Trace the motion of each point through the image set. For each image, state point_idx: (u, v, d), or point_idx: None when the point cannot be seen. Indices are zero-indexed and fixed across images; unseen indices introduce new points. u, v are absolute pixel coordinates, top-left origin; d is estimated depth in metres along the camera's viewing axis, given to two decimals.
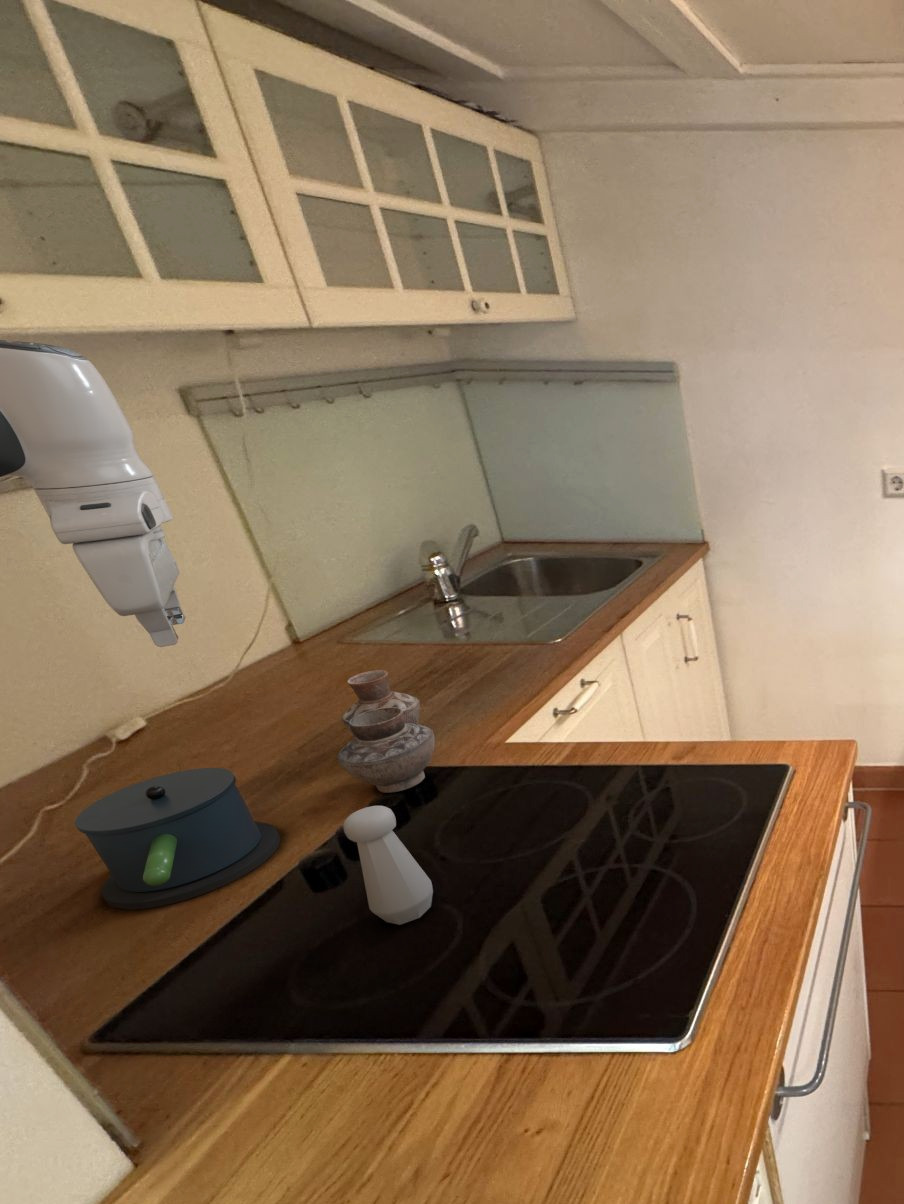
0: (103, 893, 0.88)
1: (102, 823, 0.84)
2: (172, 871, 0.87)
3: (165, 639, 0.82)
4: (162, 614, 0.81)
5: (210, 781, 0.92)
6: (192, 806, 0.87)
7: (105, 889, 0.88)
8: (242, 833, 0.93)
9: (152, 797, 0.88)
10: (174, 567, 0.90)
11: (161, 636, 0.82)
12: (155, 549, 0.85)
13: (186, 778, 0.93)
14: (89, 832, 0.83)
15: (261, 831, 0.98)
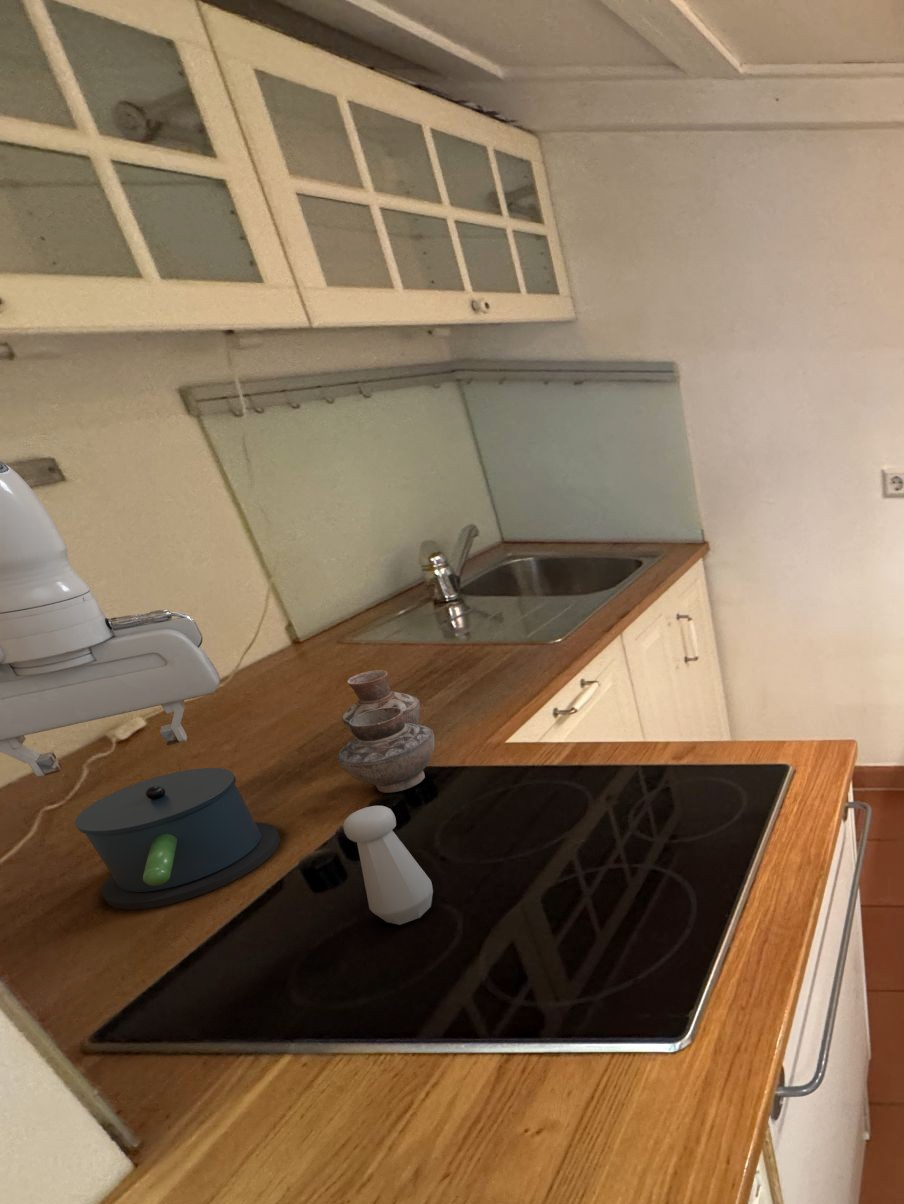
0: (103, 893, 0.88)
1: (102, 823, 0.84)
2: (172, 871, 0.87)
3: None
4: (0, 750, 0.73)
5: (210, 781, 0.92)
6: (192, 806, 0.87)
7: (105, 889, 0.88)
8: (242, 833, 0.93)
9: (152, 797, 0.88)
10: (173, 690, 0.79)
11: None
12: (105, 674, 0.75)
13: (186, 778, 0.93)
14: (89, 832, 0.83)
15: (261, 831, 0.98)
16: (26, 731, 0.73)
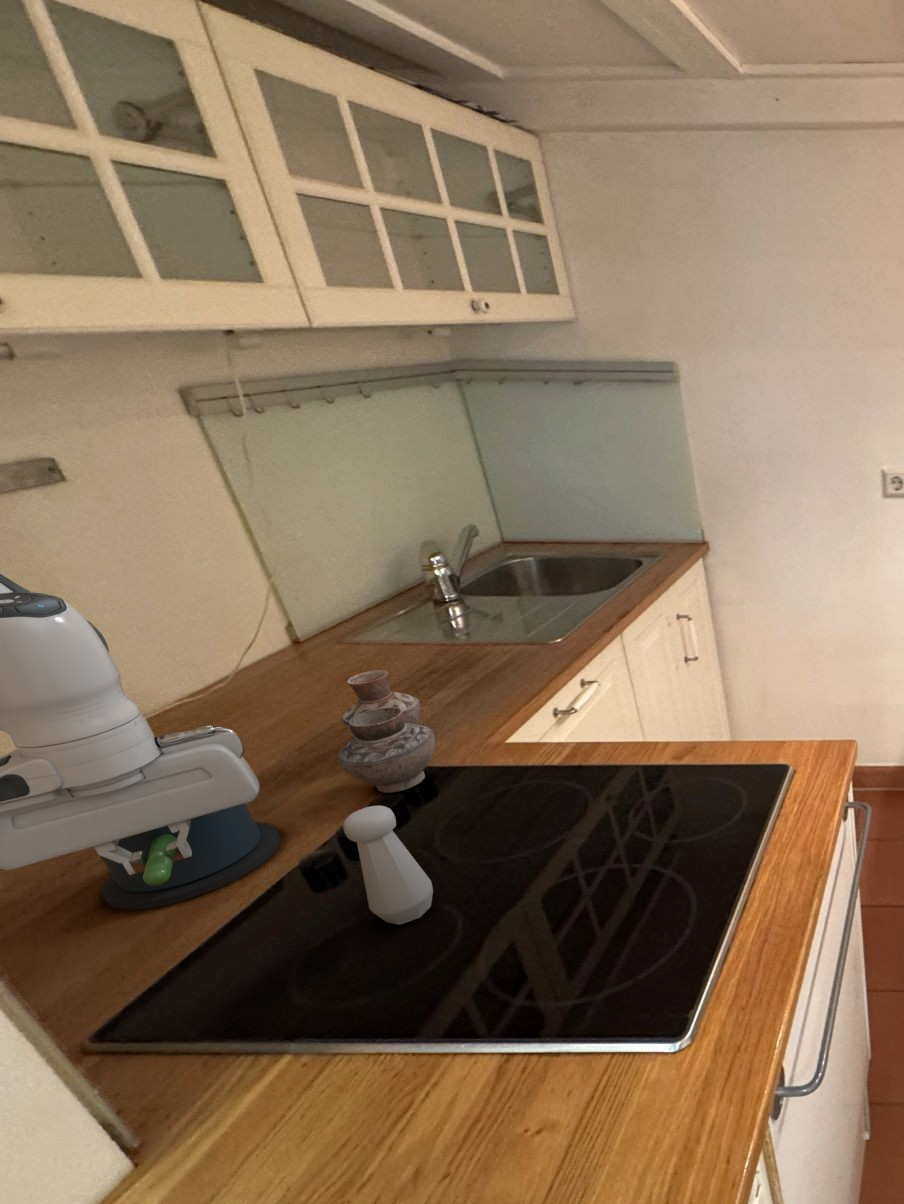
0: (103, 893, 0.88)
1: None
2: (172, 871, 0.87)
3: None
4: None
5: None
6: None
7: (105, 889, 0.88)
8: (242, 833, 0.93)
9: None
10: (216, 801, 0.83)
11: None
12: (154, 790, 0.79)
13: None
14: None
15: (261, 831, 0.98)
16: (80, 847, 0.77)
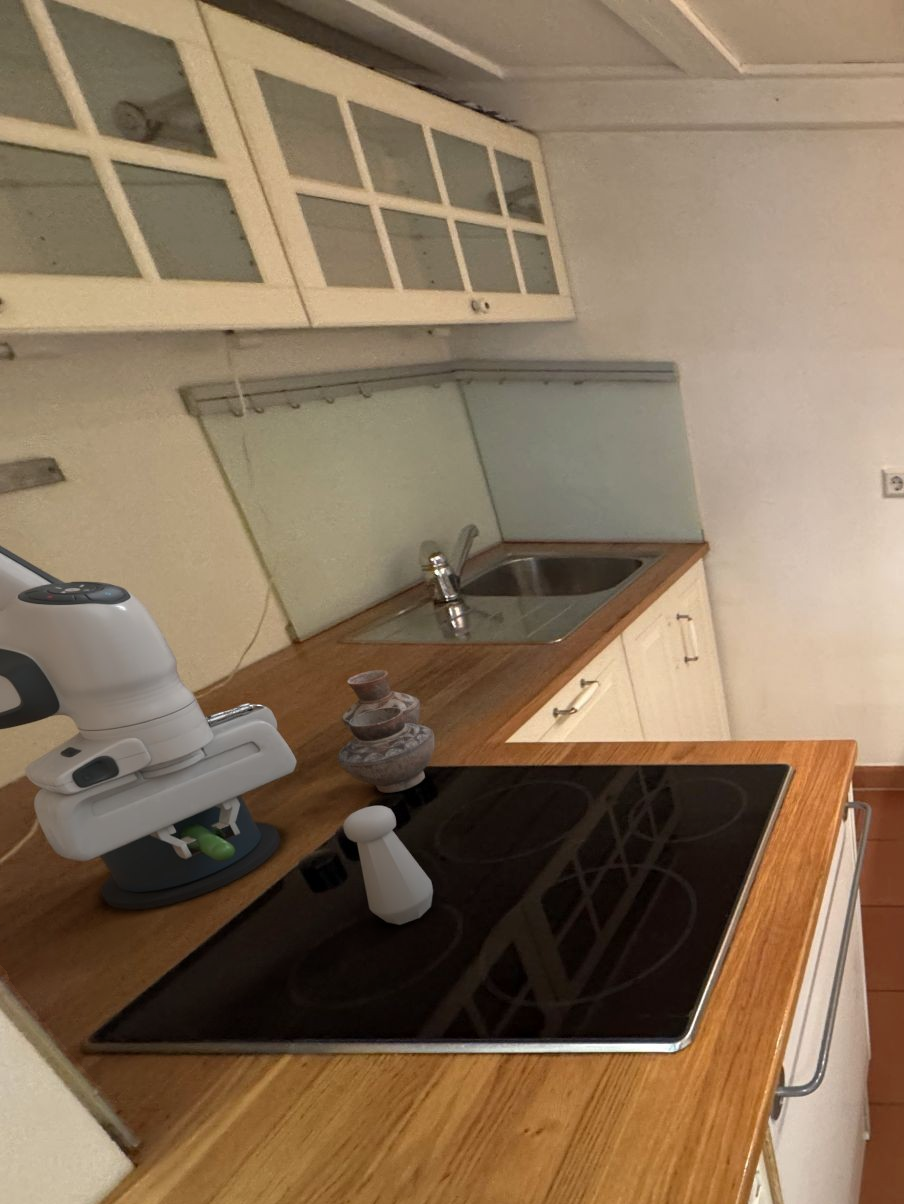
0: (103, 893, 0.88)
1: None
2: (200, 862, 0.89)
3: (180, 852, 0.83)
4: (159, 838, 0.81)
5: None
6: None
7: (105, 889, 0.88)
8: (251, 823, 0.95)
9: None
10: (265, 773, 0.88)
11: (177, 849, 0.83)
12: (212, 767, 0.84)
13: None
14: None
15: (261, 831, 0.98)
16: (151, 830, 0.79)
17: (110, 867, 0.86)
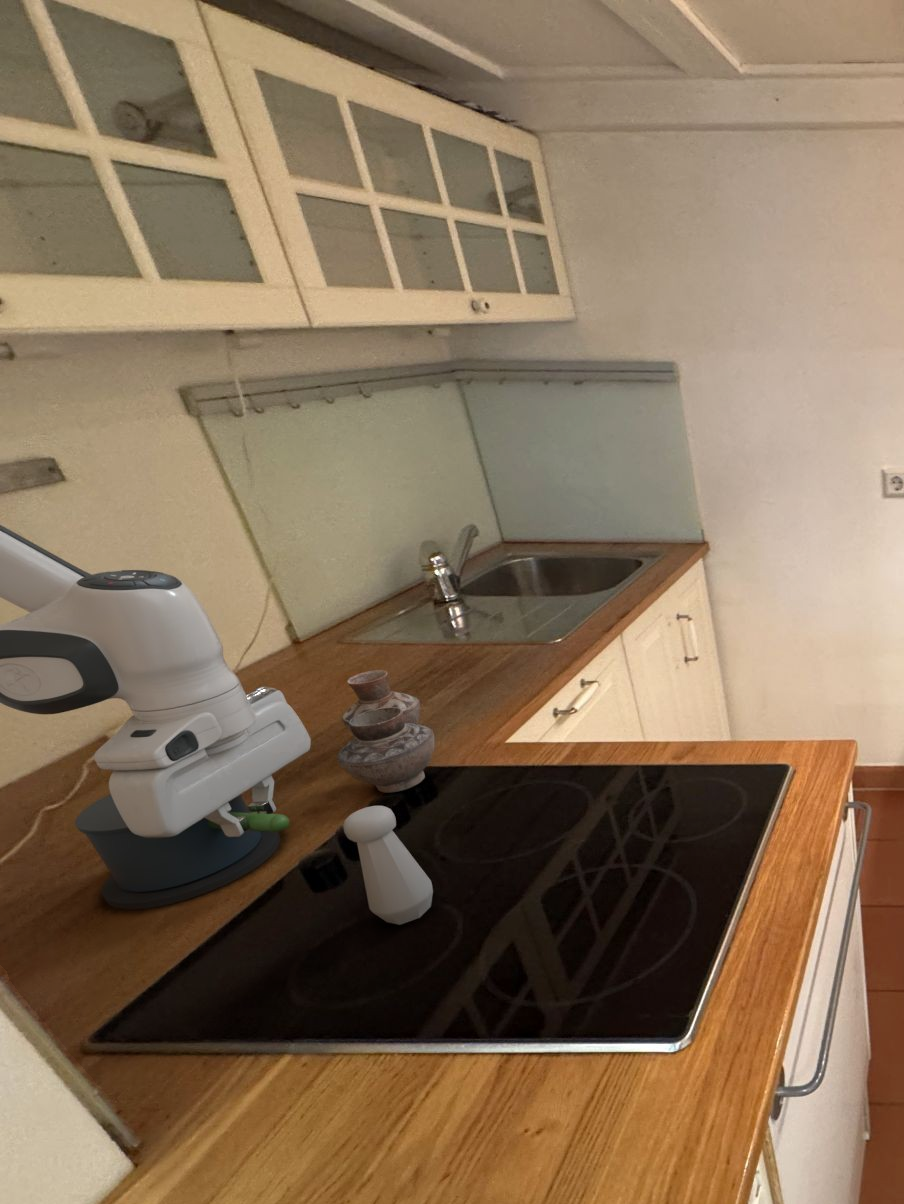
0: (103, 893, 0.88)
1: None
2: (226, 849, 0.91)
3: (231, 831, 0.87)
4: (219, 815, 0.84)
5: None
6: None
7: (105, 889, 0.88)
8: None
9: None
10: (291, 751, 0.93)
11: (228, 828, 0.87)
12: (252, 745, 0.88)
13: None
14: None
15: (261, 831, 0.98)
16: (218, 805, 0.83)
17: (128, 869, 0.86)
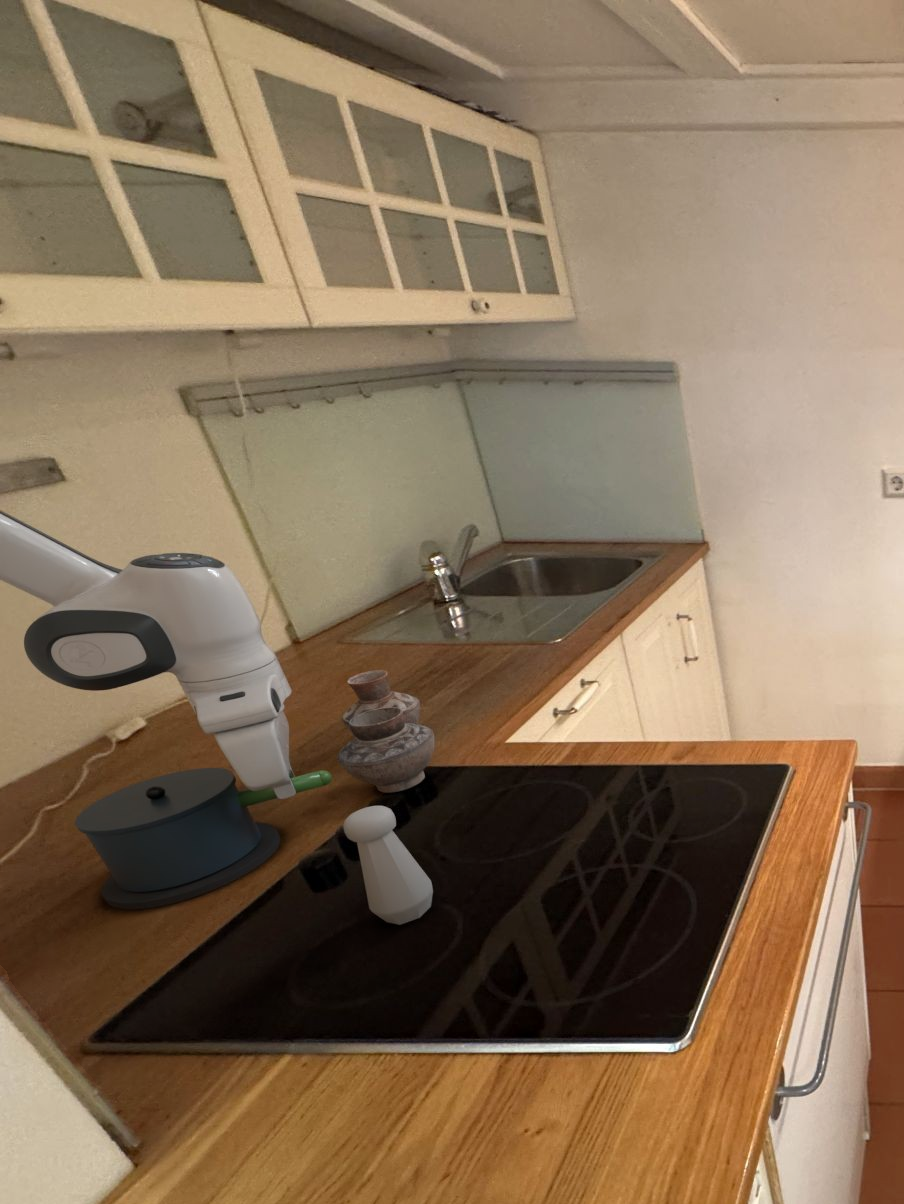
0: (103, 893, 0.88)
1: (190, 802, 0.88)
2: (253, 827, 0.95)
3: (286, 792, 0.94)
4: None
5: (161, 781, 0.92)
6: (225, 770, 0.95)
7: (105, 889, 0.88)
8: None
9: (164, 793, 0.89)
10: (286, 725, 0.99)
11: (282, 790, 0.94)
12: None
13: (120, 799, 0.89)
14: (200, 805, 0.88)
15: (261, 831, 0.98)
16: (288, 762, 0.92)
17: (181, 858, 0.87)
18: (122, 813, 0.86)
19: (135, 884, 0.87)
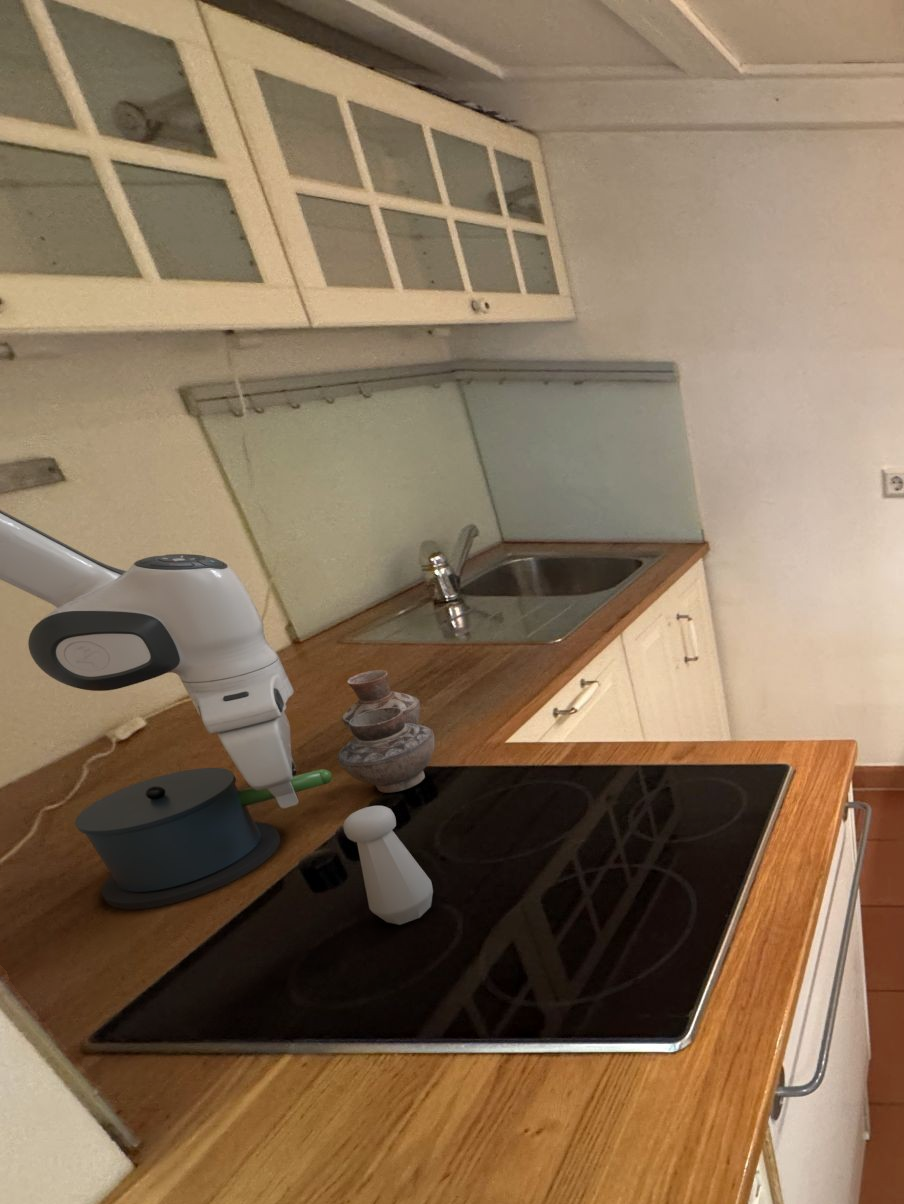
0: (103, 893, 0.88)
1: (191, 802, 0.88)
2: (253, 826, 0.95)
3: (288, 801, 0.93)
4: (288, 781, 0.91)
5: (159, 782, 0.92)
6: (224, 769, 0.95)
7: (105, 889, 0.88)
8: None
9: (164, 793, 0.89)
10: (287, 725, 1.00)
11: (285, 799, 0.93)
12: None
13: (119, 799, 0.89)
14: (202, 805, 0.88)
15: (261, 831, 0.98)
16: (291, 761, 0.93)
17: (183, 857, 0.87)
18: (123, 813, 0.86)
19: (137, 884, 0.87)
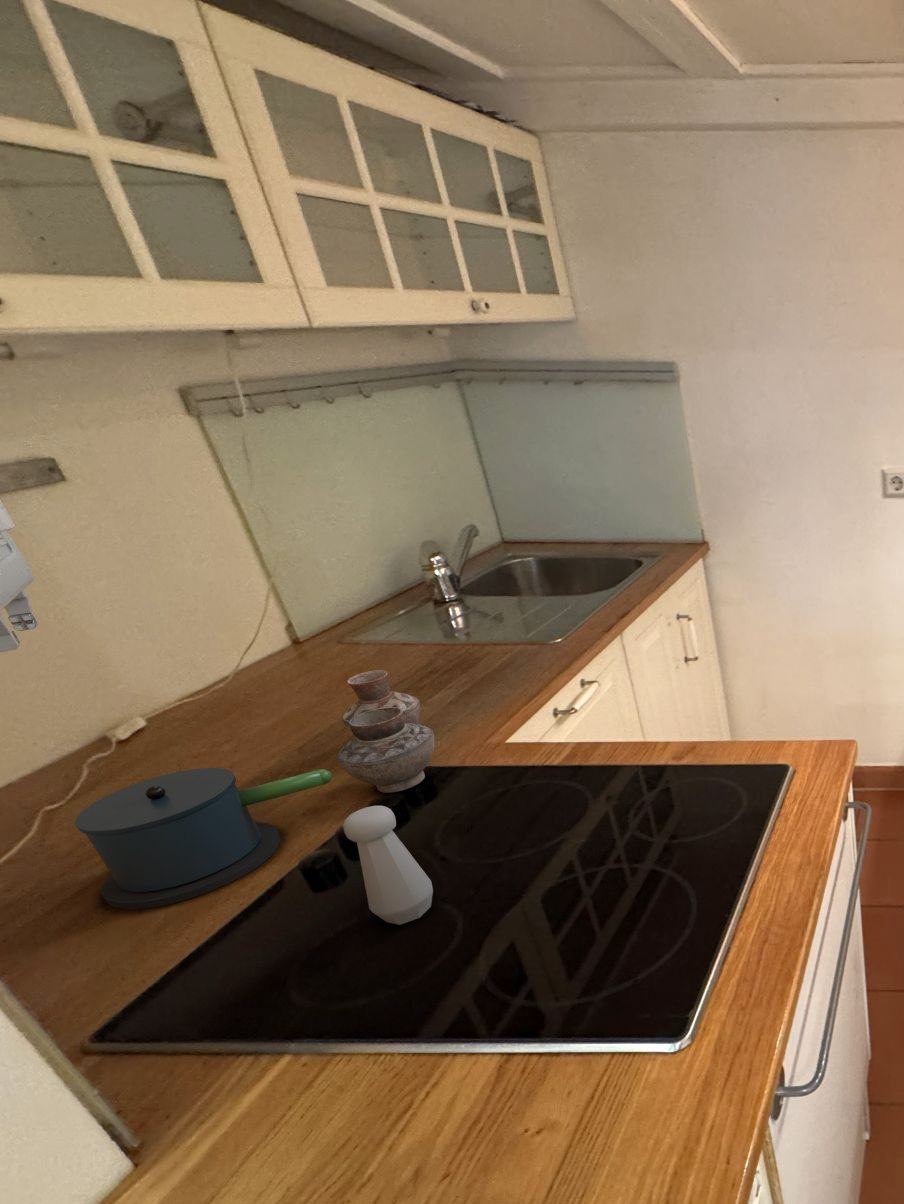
0: (103, 893, 0.88)
1: (191, 802, 0.88)
2: (253, 826, 0.95)
3: (4, 644, 0.85)
4: None
5: (159, 782, 0.92)
6: (224, 769, 0.95)
7: (105, 889, 0.88)
8: None
9: (164, 793, 0.89)
10: (26, 574, 0.92)
11: (0, 641, 0.85)
12: (0, 557, 0.88)
13: (119, 799, 0.89)
14: (202, 805, 0.88)
15: (261, 831, 0.98)
16: (7, 600, 0.85)
17: (183, 857, 0.87)
18: (123, 813, 0.86)
19: (137, 884, 0.87)
